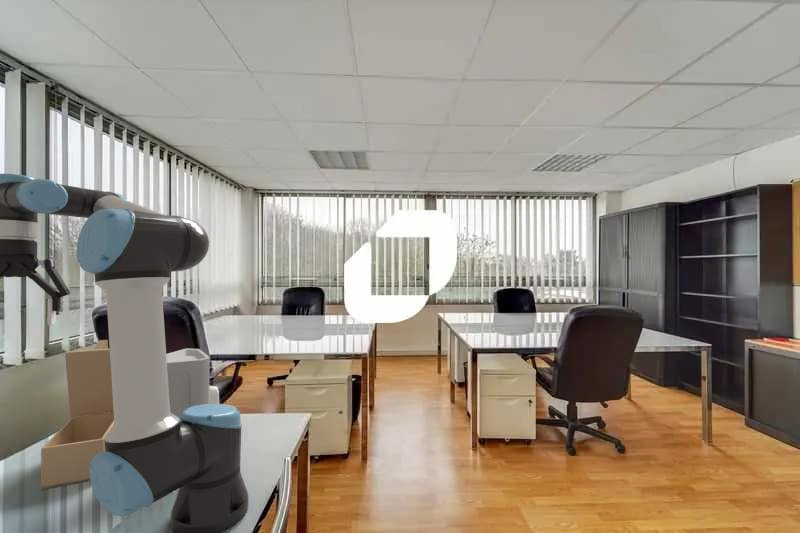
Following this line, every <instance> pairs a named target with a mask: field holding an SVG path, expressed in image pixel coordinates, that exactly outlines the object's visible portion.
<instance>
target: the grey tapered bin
mask: <svg viewBox="0 0 800 533" xmlns="http://www.w3.org/2000/svg"><path fill="white" fill-rule="evenodd" d="M210 358H211V357H210V355H207V354H206V353H205V352H204V351H202V350H201V349H200V348H183V349H179V350H176V351H173V352H172V351H171V352H169V353H166V359H167V373H168V388H169V403H170V412H171V413H172V414H174V415H175V416H177V417H179V418H180V417H181V414H182V412H183V411H184V410H185V409H187V408H189V407H192V406H197V405H204V404H209V386H210V362H211V360H210ZM180 422H181V419H180Z"/></svg>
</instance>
